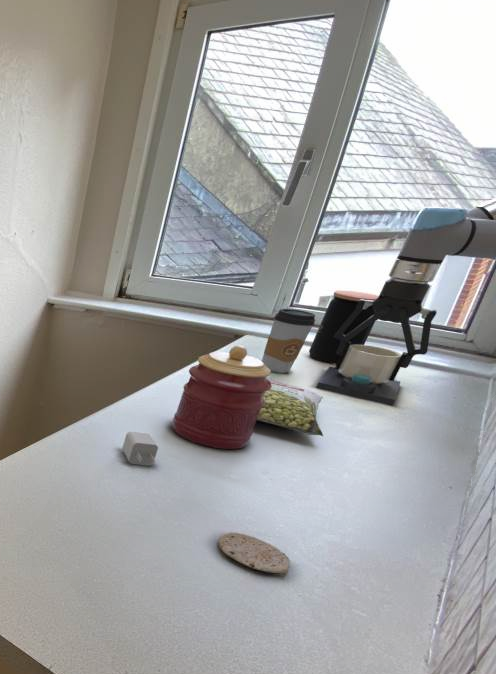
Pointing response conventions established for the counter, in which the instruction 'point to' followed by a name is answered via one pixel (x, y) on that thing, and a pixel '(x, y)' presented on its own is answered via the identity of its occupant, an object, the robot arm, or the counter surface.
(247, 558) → the flatbread
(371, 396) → the scale
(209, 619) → the counter surface
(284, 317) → the coffee cup
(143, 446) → the usb wall charger
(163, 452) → the counter surface
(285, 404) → the frozen beans
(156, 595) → the counter surface
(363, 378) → the button
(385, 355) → the bowl
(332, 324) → the coffee jar
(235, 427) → the kitchen canister
